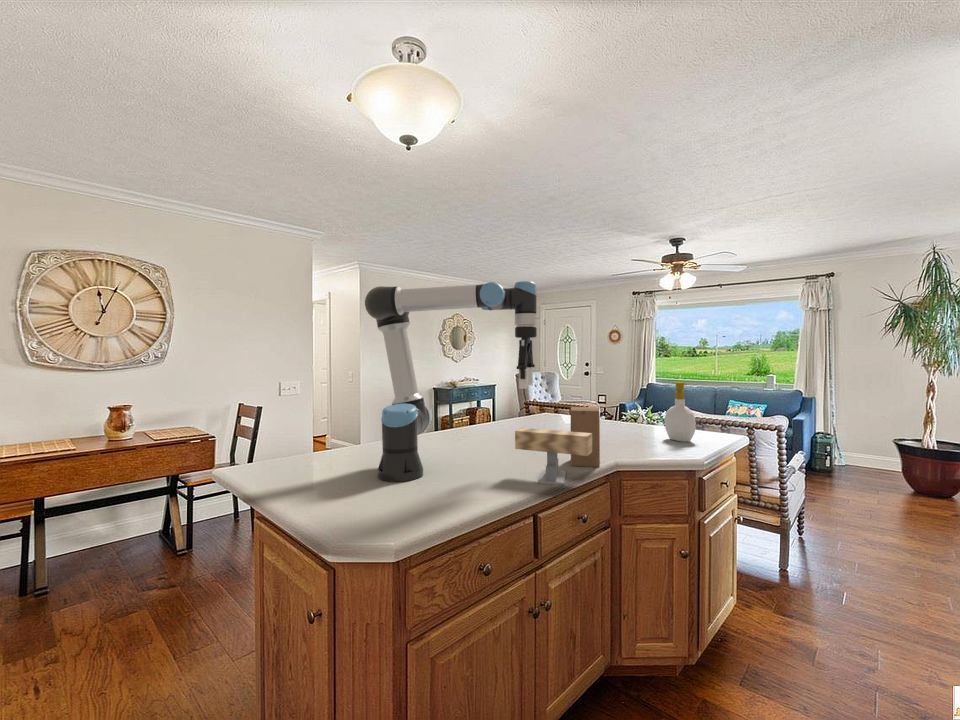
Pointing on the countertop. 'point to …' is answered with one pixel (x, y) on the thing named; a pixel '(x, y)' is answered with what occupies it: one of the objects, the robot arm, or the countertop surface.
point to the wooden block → (586, 423)
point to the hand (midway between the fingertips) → (526, 387)
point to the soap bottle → (680, 418)
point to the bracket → (552, 471)
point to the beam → (554, 441)
